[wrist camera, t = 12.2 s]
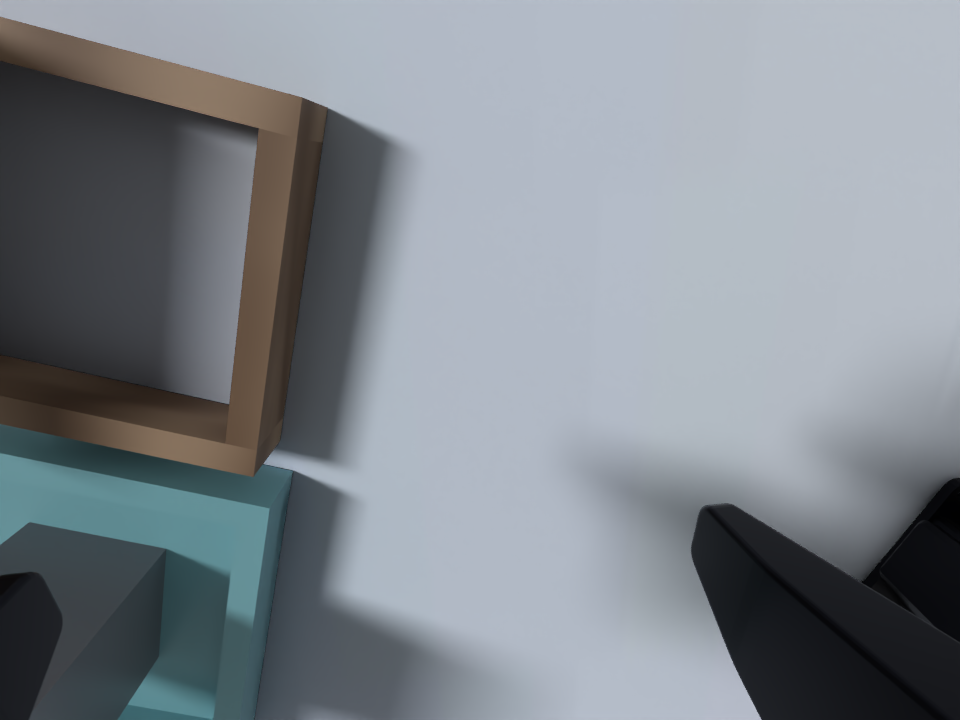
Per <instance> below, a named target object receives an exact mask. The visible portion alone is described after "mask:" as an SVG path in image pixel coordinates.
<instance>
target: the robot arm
mask: <svg viewBox="0 0 960 720" xmlns="http://www.w3.org/2000/svg"><path fill="white" fill-rule="evenodd" d="M959 492H960V478H956V479H952V480H950V481H948V482H947V483H946V484H945V485H944V486H943V487H942V488H941V490H940V491H939V492H938V493H937V494H936V496H935V497H934V498H933V499H932V500H931V502H930V503H929V504H928V505H927V506H926V508H925V509H924V510H923V511H922V512H921V514H920V515H919V516H918V517H917V518H916V520H915V521H914V522H913V523H912V524H911V526H910V527H909V528H908V529H907V530H906V532H905V533H904V534H903V535H902V536H901V538H900V539H899V540H898V541H897V542H896V544H895V545H894V546H893V547H892V548H891V550H890V551H889V552H888V553H887V554H886V556H885V557H884V558H883V559H882V560H881V562H880V563H879V564H878V565H877V566H876V568H875V569H874V570H873V571H872V572H871V574H870V575H869V576H868V577H867V578H866V579H865V581H864V582H863V583H861V582H860V581H858V580H856V579H855V578H853V577H851V576H850V575H848V574H846V573H845V572H843V571H841V570H840V569H838V568H837V567H835V566H833V565H832V564H830V563H828V562H827V561H825V560H823V559H822V558H820V557H818V556H817V555H815V554H813V553H812V552H810V551H809V550H807V549H805V548H804V547H802V546H800V545H799V544H797V543H795V542H794V541H792V540H790V539H789V538H787V537H786V536H784V535H782V534H781V533H779V532H777V531H776V530H774V529H772V528H771V527H769V526H767V525H766V524H764V523H763V522H761V521H759V520H758V519H756V518H754V517H753V516H751V515H749V514H748V513H746V512H744V511H743V510H741V509H740V508H738V507H736V506H734V505H732V504H728V503H724V504H714V505H706V506H703V507H702V509H701V510H700V512H699V515H698V519H697V524H696V528H695V532H694V536H693V540H692V545H691V554H692V559H693V562H694V565H695V568H696V570H697V573H698V575H699V578H700V581H701V583H702V586H703V588H704V591H705V593H706V596H707V598H708V601H709V604H710V606H711V609H712V611H713V614H714V616H715V619H716V621H717V624H718V626H719V629H720V632H721V634H722V637H723V639H724V642H725V644H726V647H727V649H728V652H729V654H730V656H731V659H732V661H733V663H734V666H735V668H736V670H737V672H738V674H739V676H740V678H741V680H742V682H743V684H744V686H745V688H746V690H747V692H748V694H749V696H750V698H751V700H752V702H753V704H754V706H755V708H756V710H757V712H758V714H759V716H760V717H761V719H762V720H960V493H959ZM958 493H959V494H958ZM62 627H63V616H62V612H61V609H60V607H59V606H58V604H57V602H56V600H55V598H54V596H53V594H52V592H51V590H50V588H49V587H48V585H47V583H46V581H45V579H44V577H43V576H42V575H40V574H39V573H37V572H32V571H31V572H20V573H10V574H4V575H0V720H30V717H31V714H32V711H33V709H34V706H35V703H36V701H37V698H38V695H39V692H40V690H41V687H42V684H43V681H44V679H45V676H46V673H47V671H48V668H49V665H50V662H51V660H52V657H53V654H54V652H55V649H56V646H57V643H58V641H59V638H60V635H61V632H62Z"/></svg>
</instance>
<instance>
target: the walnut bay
mask: <svg viewBox="0 0 960 720" xmlns="http://www.w3.org/2000/svg"><path fill="white" fill-rule="evenodd" d="M0 61H3V62H7V63H11V64H14V65H18V66H22V67H26V68H30V69H34V70H37V71H41V72H45V73H49V74H53V75H56V76H60V77H64V78H68V79H72V80H76V81H79V82H83V83H87V84H91V85H95V86H99V87H102V88H106V89H110V90H114V91H118V92H122V93H125V94H129V95H133V96H137V97H141V98H145V99H148V100H152V101H156V102H160V103H164V104H168V105H171V106H175V107H179V108H183V109H187V110H190V111H194V112H198V113H202V114H206V115H210V116H213V117H217V118H221V119H225V120H229V121H233V122H236V123H240V124H244V125H248V126H252V127H256V128H259V131H258V140H257V150H256V159H255V168H254V178H253V187H252V197H251V206H250V215H249V225H248V234H247V243H246V253H245V262H244V272H243V281H242V290H241V300H240V309H239V318H238V328H237V337H236V347H235V356H234V365H233V375H232V384H231V393H230V403H229V405H227V404H223V403H218V402H213V401H209V400H204V399H200V398H195V397H191V396H186V395H182V394H177V393H172V392H168V391H163V390H159V389H154V388H150V387H145V386H140V385H136V384H131V383H127V382H122V381H118V380H113V379H109V378H104V377H99V376H95V375H90V374H86V373H81V372H77V371H72V370H68V369H63V368H58V367H54V366H49V365H45V364H40V363H36V362H31V361H27V360H22V359H17V358H13V357H8V356H4V355H0V424H2V425H7V426H12V427H17V428H21V429H26V430H31V431H36V432H40V433H45V434H50V435H55V436H60V437H64V438H69V439H74V440H79V441H83V442H88V443H93V444H98V445H103V446H107V447H112V448H117V449H122V450H126V451H131V452H136V453H141V454H145V455H150V456H155V457H160V458H165V459H169V460H174V461H179V462H184V463H188V464H193V465H198V466H203V467H207V468H212V469H217V470H222V471H227V472H231V473H236V474H241V475H246V476H250V477H254V476H255V474H256V473H257V472H258V470H259V469H260V467H261V466H262V465H263V463H264V462H265V461H266V459H267V458H268V457H269V455H270V454H271V452H272V451H273V450H274V448H275V447H276V446H277V444H278V443H279V441H280V437H281V430H282V423H283V416H284V409H285V402H286V395H287V388H288V381H289V374H290V367H291V360H292V353H293V346H294V339H295V332H296V325H297V318H298V311H299V304H300V297H301V291H302V284H303V277H304V270H305V263H306V256H307V249H308V242H309V235H310V228H311V221H312V214H313V207H314V200H315V193H316V186H317V179H318V172H319V165H320V158H321V151H322V144H323V137H324V130H325V123H326V116H327V109H328V108H327V107H324V106H322V105H319V104H317V103H314V102H312V101H309V100H307V99H304V98H302V97H298V96H294V95H291V94H287V93H283V92H279V91H276V90H272V89H268V88H265V87H261V86H257V85H253V84H250V83H246V82H242V81H238V80H235V79H231V78H227V77H223V76H220V75H216V74H212V73H208V72H205V71H201V70H197V69H193V68H190V67H186V66H182V65H179V64H175V63H171V62H167V61H164V60H160V59H156V58H152V57H149V56H145V55H141V54H137V53H134V52H130V51H126V50H122V49H119V48H115V47H111V46H107V45H104V44H100V43H96V42H93V41H89V40H85V39H81V38H78V37H74V36H70V35H66V34H63V33H59V32H55V31H51V30H48V29H44V28H40V27H36V26H33V25H29V24H25V23H21V22H18V21H14V20H10V19H7V18H3V17H0Z"/></svg>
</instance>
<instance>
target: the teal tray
mask: <svg viewBox="0 0 960 720" xmlns="http://www.w3.org/2000/svg"><path fill="white" fill-rule="evenodd" d="M292 473H293V471H291V470H286V469H281V468H276V467H272V466H267V465H262V466H261V467H260V469H259V470H258V472H257V473H256V474H255V476H254V477H250V476H246V475H241V474H236V473H231V472H227V471H222V470H217V469H212V468H207V467H203V466H198V465H193V464H188V463H184V462H179V461H174V460H169V459H165V458H160V457H155V456H150V455H145V454H141V453H136V452H131V451H126V450H122V449H117V448H112V447H107V446H103V445H98V444H93V443H88V442H83V441H79V440H74V439H69V438H64V437H60V436H55V435H50V434H45V433H40V432H36V431H31V430H26V429H21V428H17V427H12V426H7V425H2V424H0V545H1V544H2V543H3V542H5V541H6V540H7V539H8V538H10V537H11V536H12V535H13V534H15V533H16V532H17V531H19V530H20V529H21V528H22V527H24V526H25V525H26V524H27V523H29V522H32V523H37V524H42V525H47V526H52V527H58V528H63V529H68V530H73V531H78V532H83V533H88V534H93V535H99V536H104V537H109V538H114V539H119V540H124V541H129V542H135V543H140V544H145V545H150V546H155V547H160V548H165V549H166V562H165V576H164V590H163V605H162V619H161V634H160V648H159V657H158V659H157V660H156V662H155V663H154V665H153V666H152V668H151V669H150V671H149V673H148V674H147V676H146V677H145V679H144V680H143V682H142V683H141V685H140V686H139V688H138V689H137V691H136V692H135V694H134V695H133V697H132V698H131V700H130V701H129V703H128V704H127V706H126V708H125V709H124V711H123V712H122V714H121V715H120V717H119V718H118V720H254V718H255V711H256V705H257V699H258V692H259V686H260V679H261V673H262V666H263V660H264V653H265V647H266V641H267V634H268V628H269V621H270V615H271V608H272V602H273V595H274V589H275V583H276V576H277V570H278V563H279V557H280V550H281V544H282V537H283V531H284V525H285V518H286V512H287V505H288V499H289V492H290V486H291V480H292Z"/></svg>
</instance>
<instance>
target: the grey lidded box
mask: <svg viewBox="0 0 960 720" xmlns="http://www.w3.org/2000/svg"><path fill="white" fill-rule="evenodd" d="M165 562H166V549H165V548H160V547H155V546H150V545H145V544H140V543H135V542H129V541H124V540H119V539H114V538H109V537H104V536H99V535H93V534H88V533H83V532H78V531H73V530H68V529H63V528H58V527H52V526H47V525H42V524H37V523H32V522H29V523H27V524H26V525H25V526H24V527H22V528H21V529H20V530H19V531H17V532H16V533H15V534H13V535H12V536H11V537H10V538H8V539H7V540H6V541H5V542H3V543H2V544H1V545H0V575H4V574H10V573H20V572H31V571H32V572H37V573H39V574H40V575H42V576H43V577H44V579H45V581H46V583H47V585H48V587H49V588H50V590H51V592H52V594H53V596H54V598H55V600H56V602H57V604H58V606H59V607H60V609H61V612H62V616H63V627H62V632H61V635H60V638H59V641H58V643H57V646H56V649H55V652H54V654H53V657H52V660H51V662H50V665H49V668H48V671H47V673H46V676H45V679H44V681H43V684H42V687H41V690H40V692H39V695H38V698H37V701H36V703H35V706H34V709H33V711H32V714H31V717H30V720H118V718H119V717H120V715H121V714H122V712H123V711H124V709H125V708H126V706H127V704H128V703H129V701H130V700H131V698H132V697H133V695H134V694H135V692H136V691H137V689H138V688H139V686H140V685H141V683H142V682H143V680H144V679H145V677H146V676H147V674H148V673H149V671H150V669H151V668H152V666H153V665H154V663H155V662H156V660H157V659H158V657H159V648H160V634H161V619H162V605H163V590H164V576H165Z"/></svg>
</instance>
